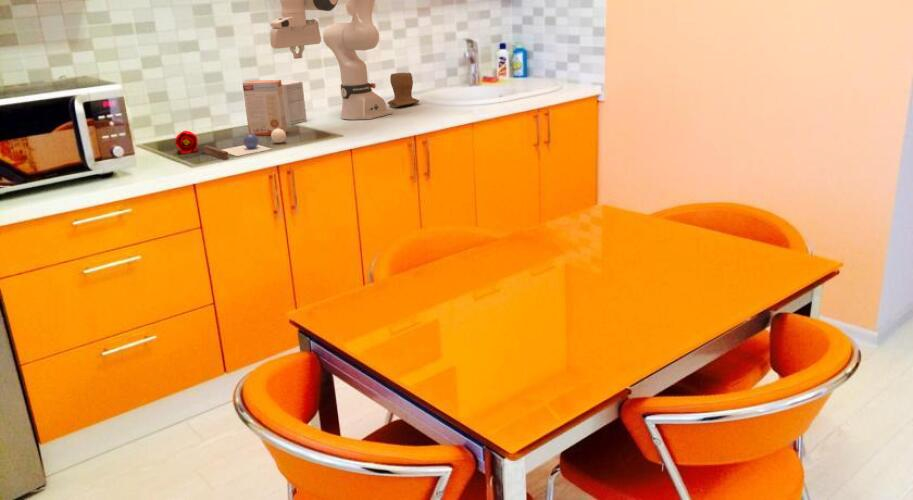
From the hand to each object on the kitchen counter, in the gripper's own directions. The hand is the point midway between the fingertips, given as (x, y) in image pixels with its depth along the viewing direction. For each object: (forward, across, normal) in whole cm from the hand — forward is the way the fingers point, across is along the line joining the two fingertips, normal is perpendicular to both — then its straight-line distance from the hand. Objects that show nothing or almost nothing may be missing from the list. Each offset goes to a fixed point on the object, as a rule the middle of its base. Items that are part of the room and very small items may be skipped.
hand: (298, 58), depth 311 cm
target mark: (+29, +30, +7) cm, 42 cm away
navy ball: (+26, +27, +7) cm, 39 cm away
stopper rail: (+29, +41, +7) cm, 51 cm away
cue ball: (+26, +16, +7) cm, 31 cm away
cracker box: (+29, +10, -12) cm, 33 cm away
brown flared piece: (+29, -62, -18) cm, 71 cm away
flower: (+29, +45, -9) cm, 54 cm away
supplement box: (+29, -9, -26) cm, 40 cm away
